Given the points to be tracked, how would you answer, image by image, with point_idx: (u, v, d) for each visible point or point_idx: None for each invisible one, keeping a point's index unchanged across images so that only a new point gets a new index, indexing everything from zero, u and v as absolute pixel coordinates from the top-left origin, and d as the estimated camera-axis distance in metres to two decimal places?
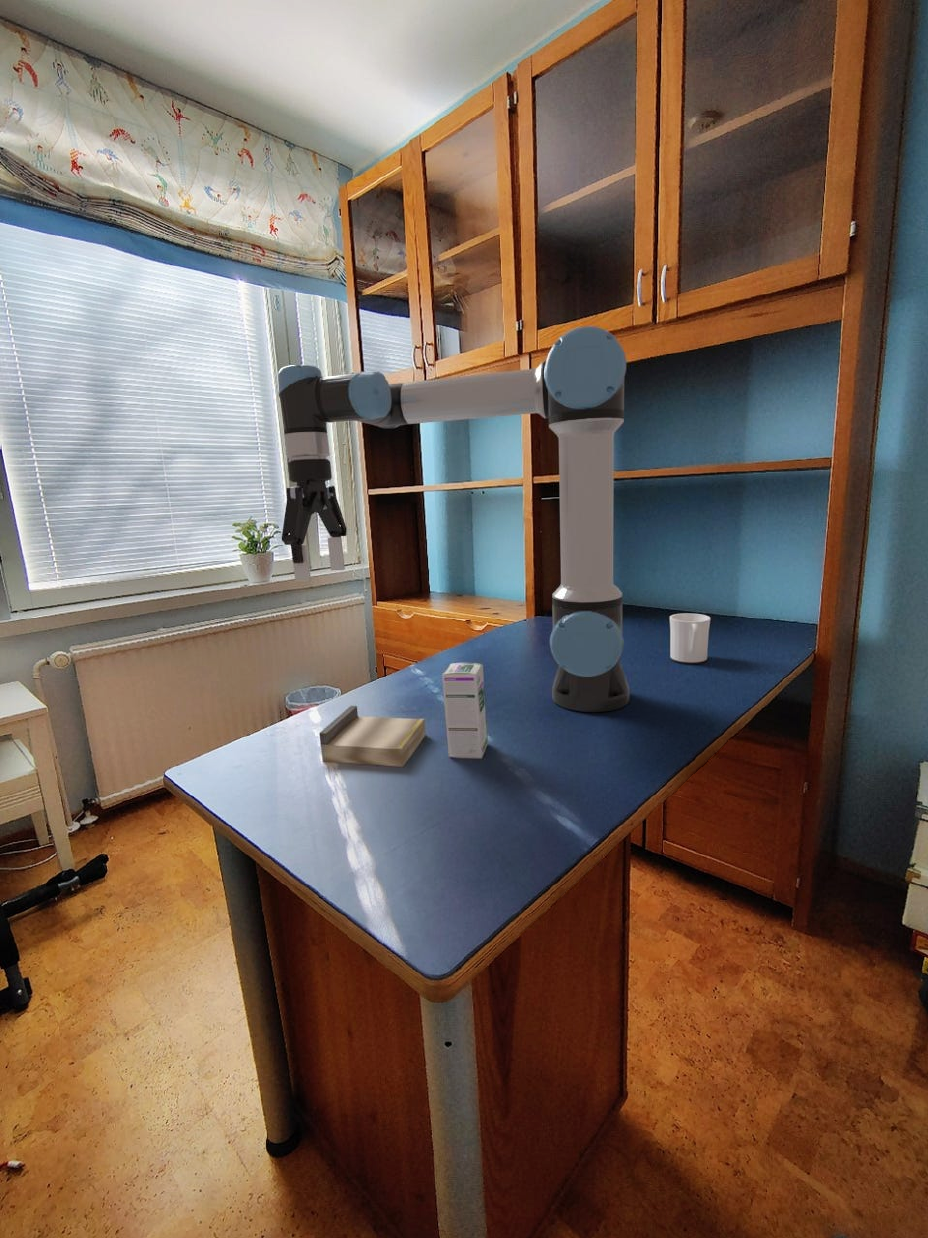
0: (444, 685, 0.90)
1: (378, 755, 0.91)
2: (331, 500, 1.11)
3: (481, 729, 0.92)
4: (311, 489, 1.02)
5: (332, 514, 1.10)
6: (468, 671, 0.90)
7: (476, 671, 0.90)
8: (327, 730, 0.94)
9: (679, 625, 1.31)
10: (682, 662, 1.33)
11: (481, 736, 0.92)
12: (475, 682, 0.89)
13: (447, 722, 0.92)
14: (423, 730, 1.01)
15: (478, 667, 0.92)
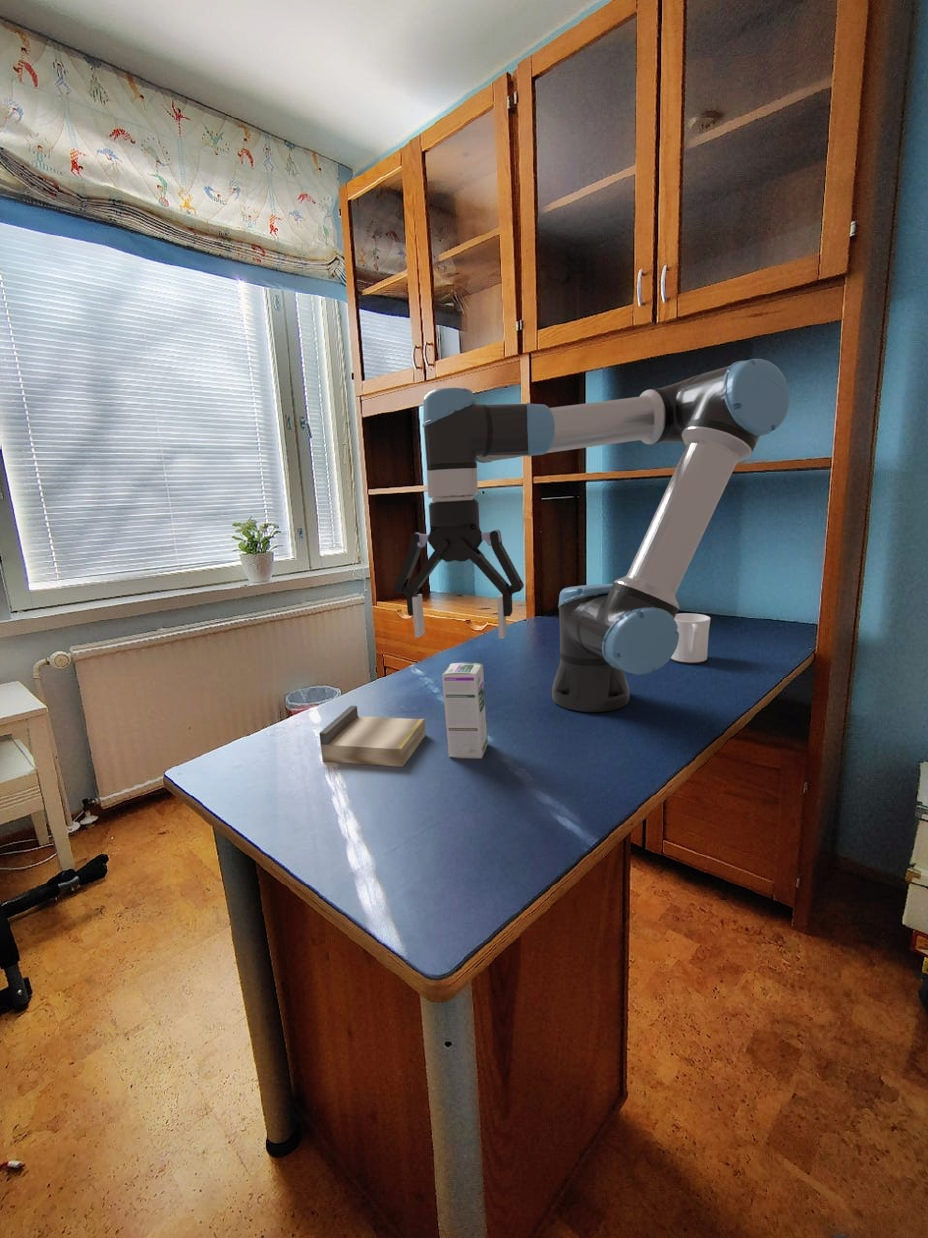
0: (444, 685, 0.90)
1: (378, 755, 0.91)
2: None
3: (481, 729, 0.92)
4: (439, 536, 0.87)
5: (484, 567, 0.86)
6: (468, 671, 0.90)
7: (476, 671, 0.90)
8: (327, 730, 0.94)
9: (679, 626, 1.31)
10: (682, 662, 1.33)
11: (481, 736, 0.92)
12: (475, 682, 0.89)
13: (447, 722, 0.92)
14: (423, 730, 1.01)
15: (478, 667, 0.92)
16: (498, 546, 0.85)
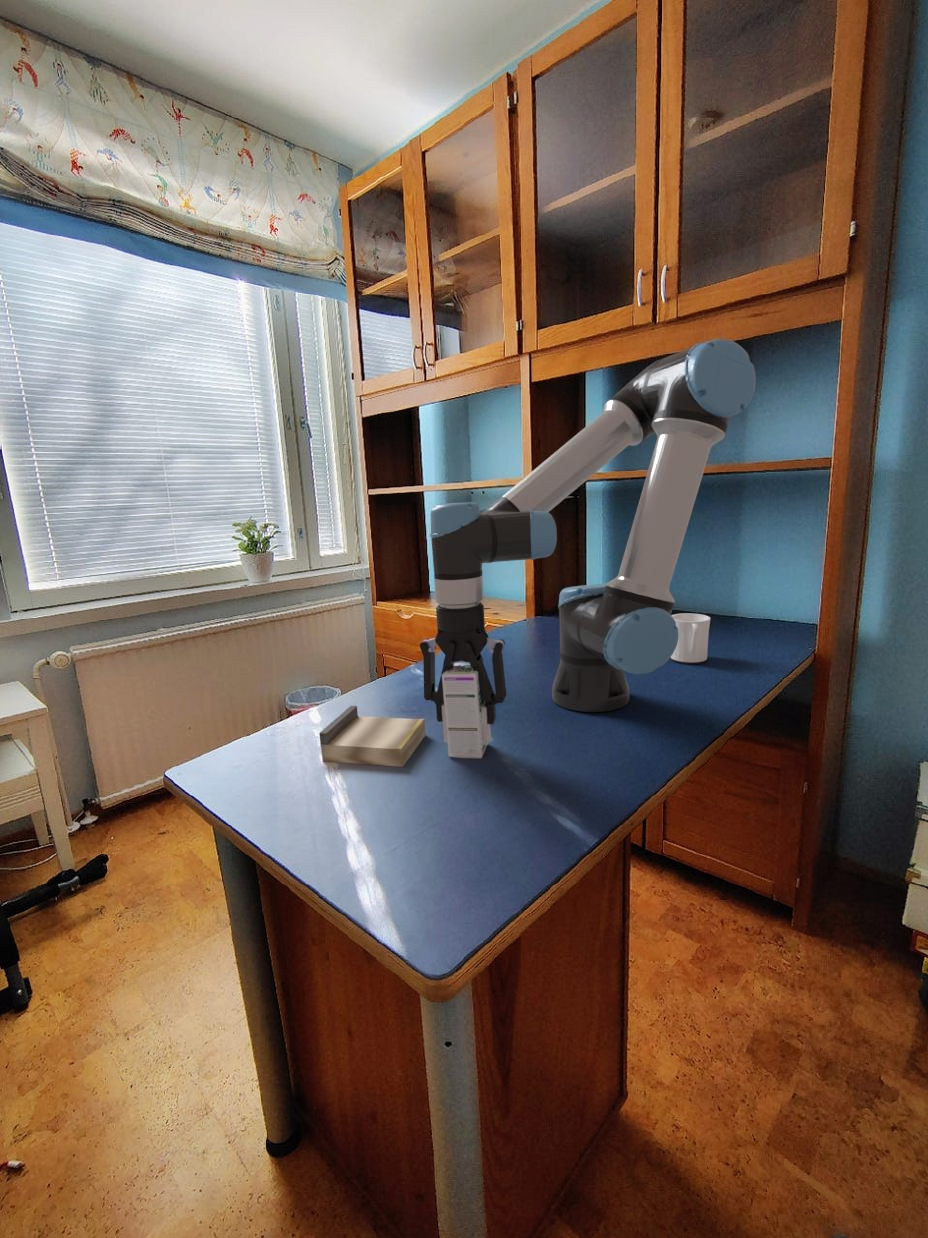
0: (444, 685, 0.90)
1: (378, 755, 0.91)
2: None
3: (481, 729, 0.92)
4: (444, 636, 0.90)
5: (479, 674, 0.90)
6: (468, 671, 0.90)
7: (476, 671, 0.90)
8: (327, 730, 0.94)
9: (679, 625, 1.31)
10: (682, 662, 1.33)
11: (481, 736, 0.92)
12: (475, 682, 0.89)
13: (447, 722, 0.92)
14: (423, 730, 1.01)
15: None
16: (498, 658, 0.89)
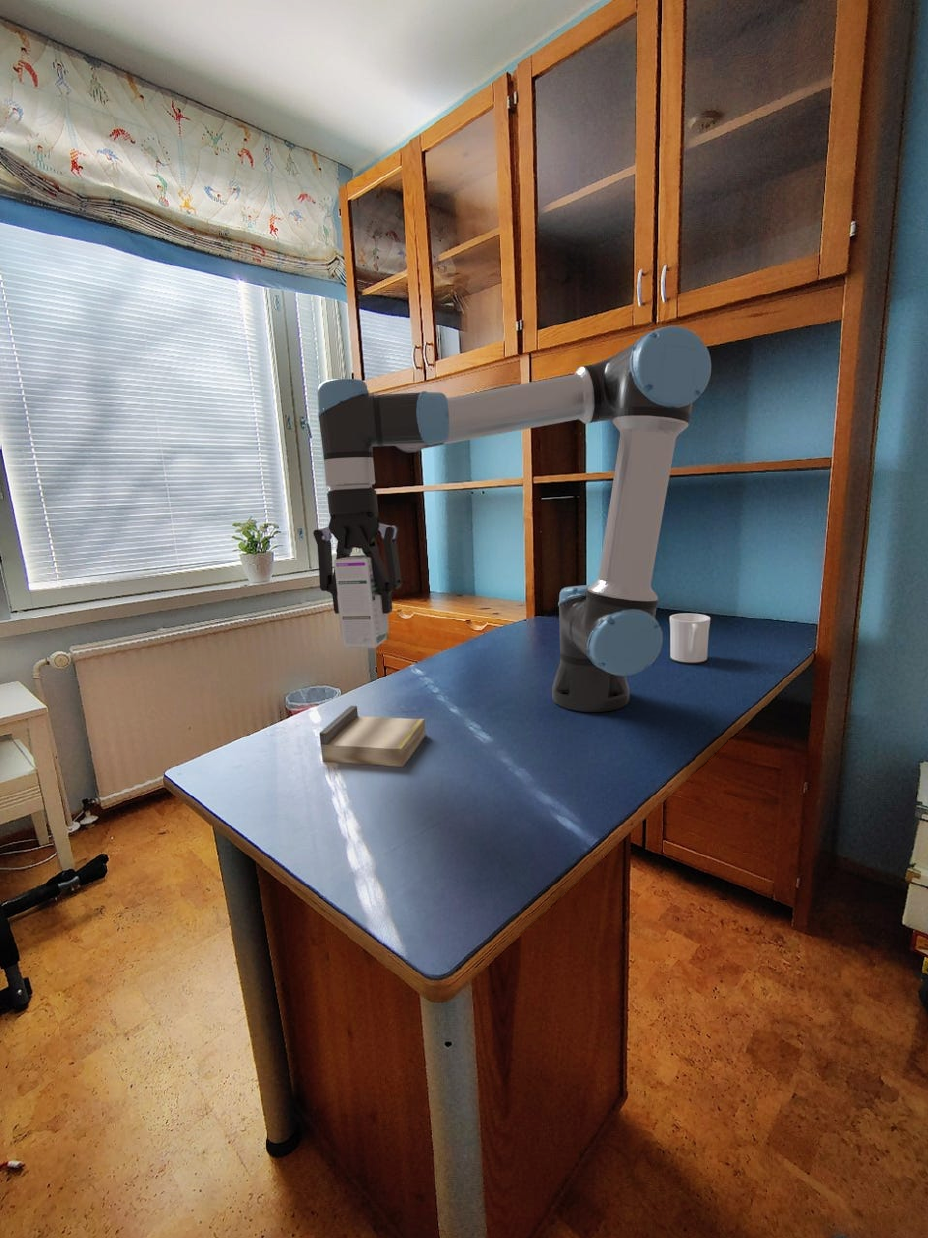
0: (336, 571, 0.89)
1: (378, 755, 0.91)
2: None
3: (375, 618, 0.90)
4: (337, 522, 0.89)
5: (372, 560, 0.89)
6: (360, 557, 0.89)
7: (369, 557, 0.89)
8: (327, 730, 0.94)
9: (679, 625, 1.31)
10: (682, 662, 1.33)
11: (375, 625, 0.91)
12: (366, 567, 0.88)
13: (341, 610, 0.91)
14: (423, 730, 1.01)
15: None
16: (389, 542, 0.88)
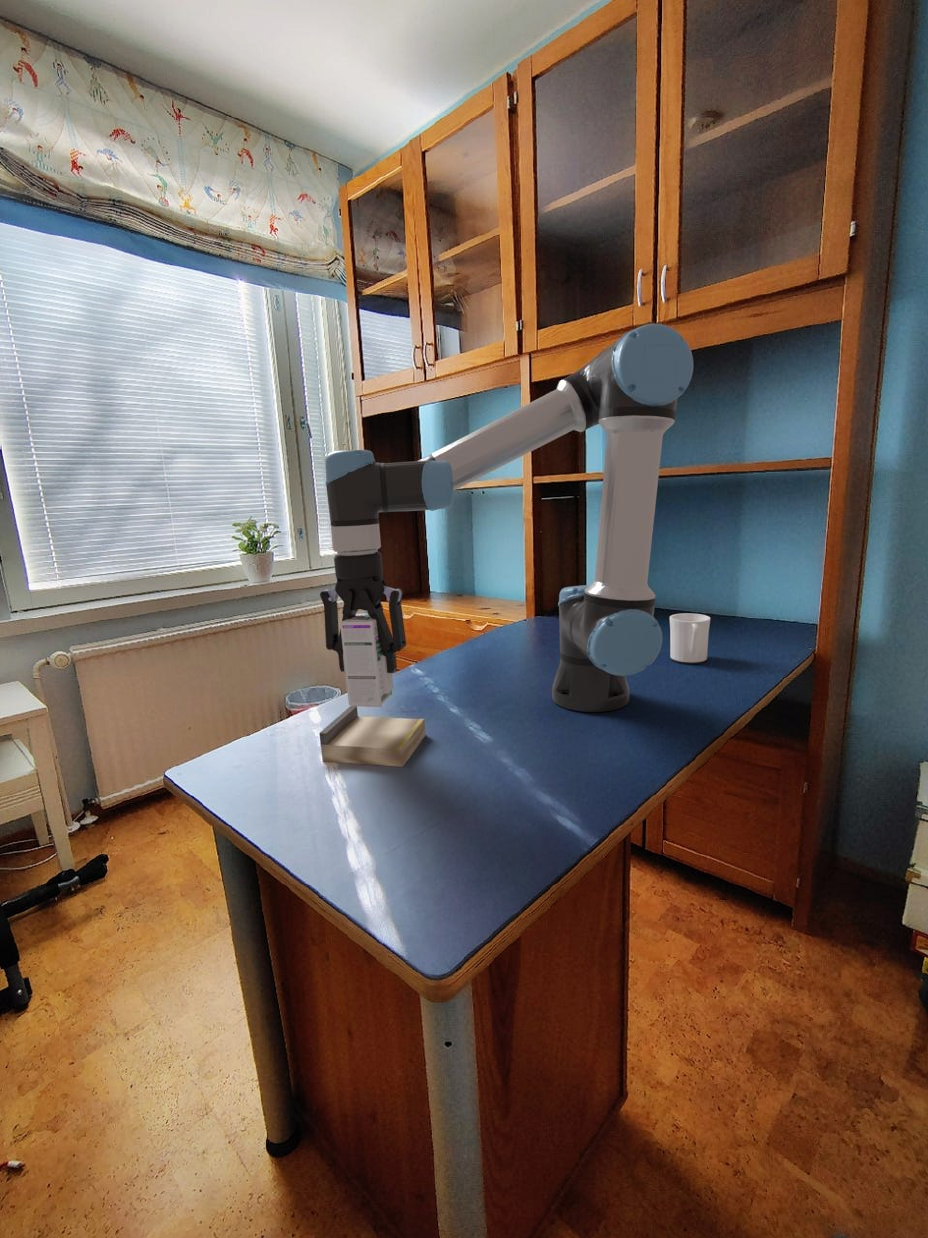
0: (343, 633, 0.91)
1: (378, 755, 0.91)
2: None
3: (380, 677, 0.93)
4: (343, 585, 0.91)
5: (377, 622, 0.91)
6: (366, 619, 0.91)
7: (374, 619, 0.91)
8: (327, 730, 0.94)
9: (679, 625, 1.31)
10: (682, 662, 1.33)
11: (380, 684, 0.93)
12: (372, 629, 0.90)
13: (346, 670, 0.93)
14: (423, 730, 1.01)
15: None
16: (394, 606, 0.90)
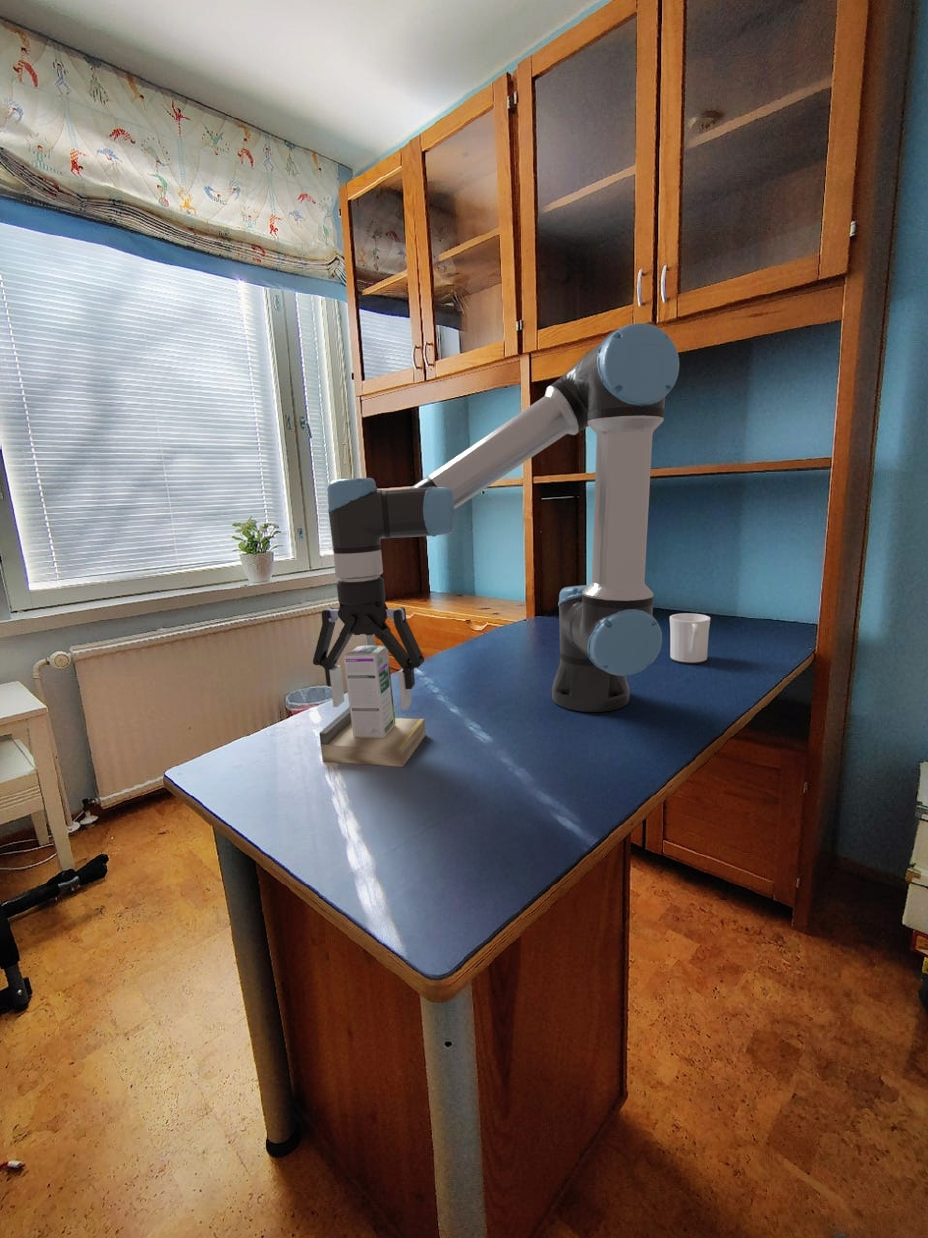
0: (346, 666, 0.93)
1: (378, 755, 0.91)
2: None
3: (383, 709, 0.94)
4: (347, 611, 0.92)
5: (387, 643, 0.92)
6: (369, 652, 0.92)
7: (377, 652, 0.93)
8: (327, 730, 0.94)
9: (679, 625, 1.31)
10: (682, 662, 1.33)
11: (383, 716, 0.94)
12: (375, 663, 0.92)
13: (350, 702, 0.94)
14: (423, 730, 1.01)
15: (381, 649, 0.94)
16: (400, 624, 0.91)
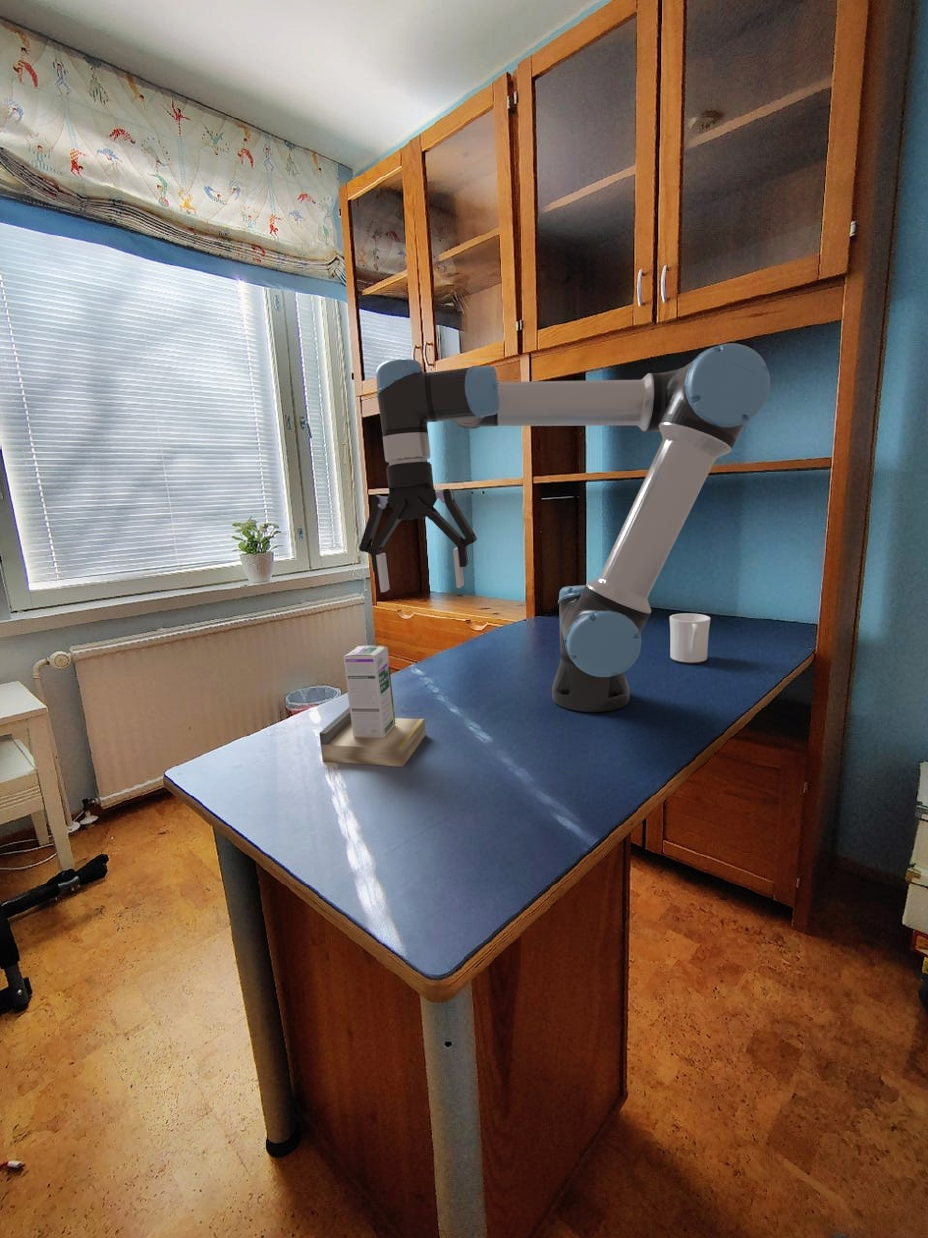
0: (346, 666, 0.93)
1: (378, 755, 0.91)
2: None
3: (383, 710, 0.94)
4: (397, 497, 0.95)
5: (440, 522, 0.95)
6: (369, 653, 0.92)
7: (377, 653, 0.92)
8: (327, 730, 0.94)
9: (679, 625, 1.31)
10: (682, 662, 1.33)
11: (383, 716, 0.94)
12: (375, 663, 0.91)
13: (350, 703, 0.94)
14: (423, 730, 1.01)
15: (381, 649, 0.94)
16: (451, 502, 0.94)
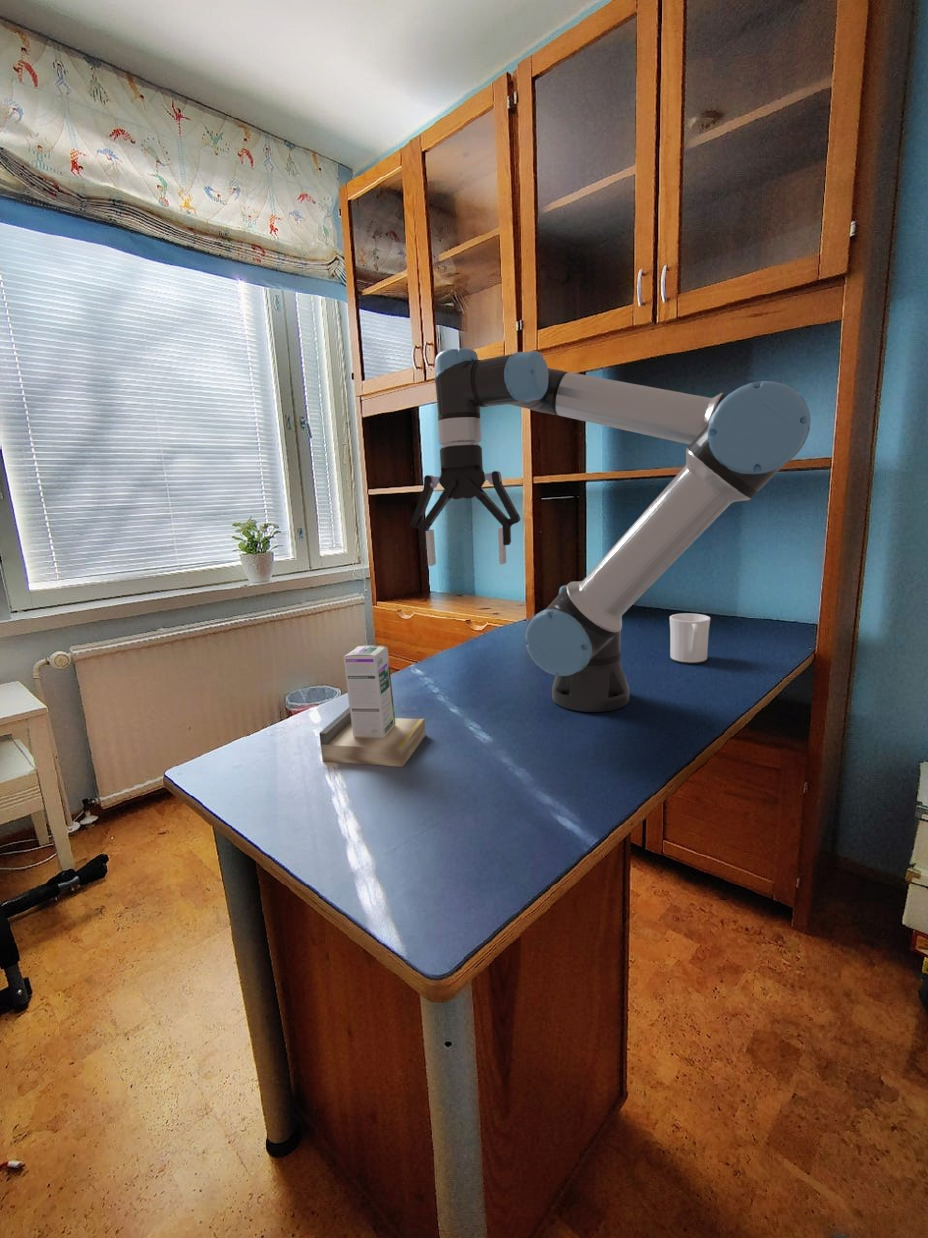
0: (346, 666, 0.93)
1: (378, 755, 0.91)
2: None
3: (383, 710, 0.94)
4: (448, 477, 1.03)
5: (487, 502, 1.02)
6: (369, 653, 0.92)
7: (377, 653, 0.92)
8: (327, 730, 0.94)
9: (679, 625, 1.31)
10: (682, 662, 1.33)
11: (383, 716, 0.94)
12: (375, 663, 0.91)
13: (350, 703, 0.94)
14: (423, 730, 1.01)
15: (381, 649, 0.94)
16: (498, 484, 1.01)
